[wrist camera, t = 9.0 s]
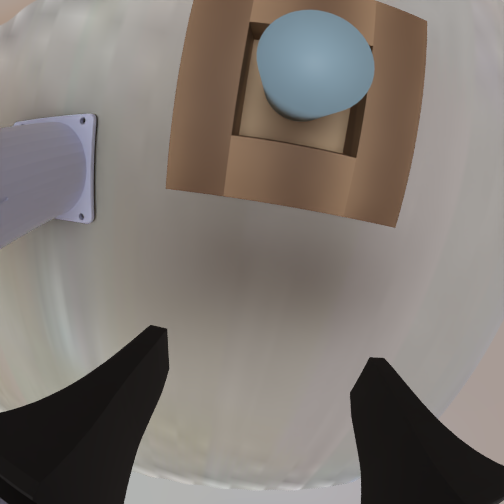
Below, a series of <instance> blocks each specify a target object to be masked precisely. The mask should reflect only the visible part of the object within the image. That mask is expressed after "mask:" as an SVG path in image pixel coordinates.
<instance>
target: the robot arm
mask: <svg viewBox="0 0 504 504" xmlns="http://www.w3.org/2000/svg"><path fill="white" fill-rule="evenodd" d="M84 118H85V120H86V121H85V123H83V119H84ZM95 132H96V116H95V115H94V114H92V113H89V114H75V115H64V116H55V117H46V118H39V119H32V120H25V121H19V122H15V123H14V125H13V126H11V127H4V128H0V249H2V248H3V247H5V246H6V245H8V244H10V243H11V242H13V241H15V240H16V239H18V238H20V237H21V236H23V235H25V234H27V233H28V232H30V231H32V230H34V229H35V228H37V227H39V226H41V225H43V224H44V223H46V222H48V221H50V220H52V219H61V220H67V221H73V222H80V223H86V224H89V223H91V222H92V221H93V220H94V148H95ZM82 214H83V215H84V218H83V217H82ZM168 371H169V356H168V337H167V329H166V328H161V327H157V326H153V325H150V326H149V327H147V328H146V329H145V330H144V331H143V332H141V333H140V334H139V335H138V336H137V337H136V338H134V339H133V340H132V341H131V342H130V343H128V344H127V345H126V346H125V347H124V348H122V349H121V350H120V351H119V352H117V353H116V354H115V355H114V356H112V357H111V358H110V359H108V360H107V361H106V362H104V363H103V364H102V365H100V366H99V367H97V368H96V369H95V370H93V371H92V372H90V373H89V374H87V375H86V376H84V377H83V378H81V379H80V380H78V381H76V382H75V383H73V384H71V385H69V386H68V387H66V388H64V389H62V390H60V391H58V392H56V393H54V394H52V395H50V396H48V397H45V398H43V399H41V400H39V401H36V402H34V403H31V404H28V405H25V406H22V407H19V408H16V409H13V410H9V411H6V412H1V413H0V504H124V499H125V495H126V490H127V486H128V482H129V478H130V474H131V470H132V466H133V463H134V460H135V456H136V453H137V449H138V446H139V444H140V441H141V439H142V436H143V434H144V432H145V429H146V427H147V425H148V423H149V420H150V418H151V416H152V414H153V412H154V409H155V407H156V405H157V402H158V400H159V398H160V396H161V393H162V391H163V388H164V384H165V381H166V378H167V374H168ZM350 401H351V417H352V423H353V428H354V434H355V439H356V445H357V450H358V456H359V462H360V470H361V504H499V503H500V502H502V501H503V500H504V466H503V465H500V464H498V463H496V462H494V461H492V460H491V459H489V458H487V457H485V456H484V455H482V454H480V453H479V452H477V451H476V450H474V449H473V448H471V447H470V446H469V445H467V444H466V443H464V442H463V441H462V440H460V439H459V438H458V437H457V436H456V435H454V434H453V433H452V432H451V431H450V430H449V429H448V428H447V427H445V426H444V425H443V424H442V423H441V422H440V421H439V420H438V419H437V418H436V417H435V416H434V415H433V414H432V413H431V412H430V411H429V410H428V408H427V407H426V406H425V405H424V404H423V403H422V402H421V401H420V400H419V398H418V397H417V396H416V395H415V394H414V393H413V391H412V390H411V389H410V388H409V387H408V385H407V384H406V383H405V382H404V381H403V379H402V378H401V377H400V376H399V375H398V373H397V372H396V371H395V370H394V369H393V367H392V366H391V365H390V364H389V363H388V362H387V361H386V360H385V359H384V358H373V357H370V358H369V360H368V362H367V363H366V365H365V367H364V369H363V371H362V373H361V375H360V376H359V378H358V380H357V382H356V384H355V385H354V387H353V389H352V391H351V392H350Z"/></svg>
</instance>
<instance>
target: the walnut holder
mask: <svg viewBox="0 0 504 504" xmlns="http://www.w3.org/2000/svg"><path fill="white" fill-rule="evenodd" d="M300 10H319V11H324V12H328V13H331V14H334V15H336V16H339V17H341V18H343V19H344V20H346V21H348V22H349V23H350V24H352V25H353V26H354V27H355V28H356V29H357V30H358V31H359V32H360V33H361V34H362V35H363V37H364V38H365V39H366V41H367V43H368V45H369V47H370V49H371V51H372V54H373V59H374V68H375V69H374V77H373V81H372V84H371V86H370V88H369V90H368V92H367V93H366V94H365V96H364V97H363V98H362V99H361V100H360V101H359V102H358V103H356V104H355V105H353V106H352V107H350V108H348V109H346V110H343V111H340V112H337V113H333V114H330V115H327V116H324V117H321V118H318V119H315V120H311V121H306V122H298V121H292V120H289V119H286V118H284V117H282V116H281V115H279V114H278V113H277V112H275V111H274V110H273V108H272V107H271V106H270V104H269V103H268V101H267V99H266V96H265V92H264V88H263V85H262V81H261V77H260V73H259V70H258V65H257V47H258V43H259V40H260V38H261V36H262V34H263V33H264V31H265V30H266V28H267V27H268V26H269V25H270V24H271V23H272V22H274V21H275V20H276V19H278V18H280V17H281V16H283V15H286V14H288V13H291V12H294V11H300ZM426 47H427V21H425V20H423V19H421V18H419V17H416V16H414V15H412V14H410V13H407V12H405V11H402V10H400V9H397V8H395V7H392V6H389V5H386V4H384V3H381V2H378V1H375V0H194V1H193V5H192V9H191V14H190V18H189V22H188V27H187V32H186V37H185V42H184V47H183V52H182V58H181V63H180V69H179V75H178V81H177V88H176V95H175V102H174V109H173V117H172V125H171V134H170V144H169V154H168V165H167V178H166V189H173V190H181V191H189V192H197V193H204V194H212V195H219V196H226V197H233V198H239V199H246V200H252V201H259V202H265V203H271V204H277V205H283V206H289V207H294V208H300V209H306V210H311V211H316V212H322V213H327V214H332V215H337V216H342V217H347V218H352V219H357V220H362V221H367V222H371V223H376V224H381V225H385V226H390V227H394V228H395V227H396V223H397V220H398V216H399V213H400V209H401V205H402V201H403V197H404V193H405V189H406V185H407V181H408V177H409V172H410V168H411V163H412V158H413V153H414V148H415V142H416V137H417V131H418V125H419V118H420V112H421V104H422V96H423V87H424V77H425V65H426Z"/></svg>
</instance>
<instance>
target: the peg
mask: <svg viewBox="0 0 504 504" xmlns="http://www.w3.org/2000/svg"><path fill="white" fill-rule="evenodd" d="M257 65H258V70H259V73H260V77H261V81H262V85H263V88H264V92H265V96H266V99H267V101H268V103H269V104H270V106H271V107H272V108H273V110H274V111H275V112H277V113H278V114H279V115H281V116H282V117H284V118H286V119H289V120H292V121H298V122H306V121H311V120H315V119H318V118H321V117H324V116H327V115H330V114H333V113H337V112H340V111H343V110H346V109H348V108H350V107H352V106H353V105H355V104H356V103H358V102H359V101H360V100H361V99H362V98H363V97H364V96H365V94H366V93H367V92H368V90H369V88H370V86H371V84H372V81H373V77H374V69H375V68H374V59H373V54H372V51H371V49H370V47H369V45H368V43H367V41H366V39H365V38H364V37H363V35H362V34H361V33H360V32H359V31H358V30H357V29H356V28H355V27H354V26H353V25H352V24H350V23H349V22H348V21H346V20H344V19H343V18H341V17H339V16H336V15H334V14H331V13H328V12H324V11H319V10H300V11H294V12H291V13H288V14H286V15H283V16H281V17H280V18H278V19H276V20H275V21H274V22H272V23H271V24H270V25H269V26H268V27H267V28H266V30H265V31H264V33H263V34H262V36H261V38H260V40H259V43H258V47H257Z"/></svg>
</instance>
